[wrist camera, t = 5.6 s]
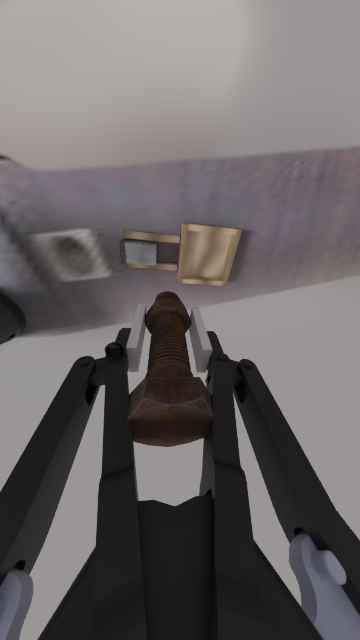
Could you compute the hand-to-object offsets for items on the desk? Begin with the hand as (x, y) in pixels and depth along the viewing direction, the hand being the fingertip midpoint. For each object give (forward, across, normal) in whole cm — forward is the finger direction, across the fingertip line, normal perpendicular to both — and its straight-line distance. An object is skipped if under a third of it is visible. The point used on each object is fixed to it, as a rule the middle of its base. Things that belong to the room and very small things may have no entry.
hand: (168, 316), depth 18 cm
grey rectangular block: (+22, -6, +2) cm, 22 cm away
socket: (+22, +3, +2) cm, 22 cm away
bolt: (+4, 0, 0) cm, 4 cm away
